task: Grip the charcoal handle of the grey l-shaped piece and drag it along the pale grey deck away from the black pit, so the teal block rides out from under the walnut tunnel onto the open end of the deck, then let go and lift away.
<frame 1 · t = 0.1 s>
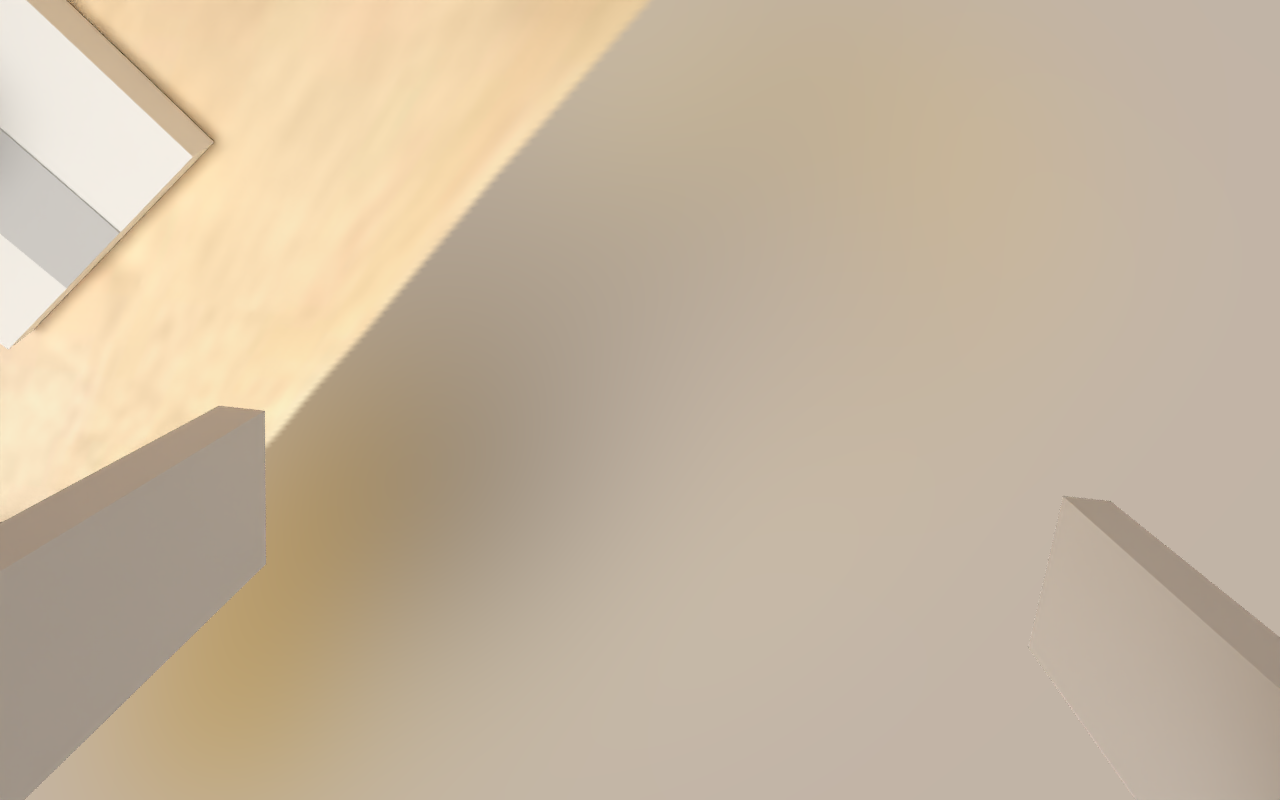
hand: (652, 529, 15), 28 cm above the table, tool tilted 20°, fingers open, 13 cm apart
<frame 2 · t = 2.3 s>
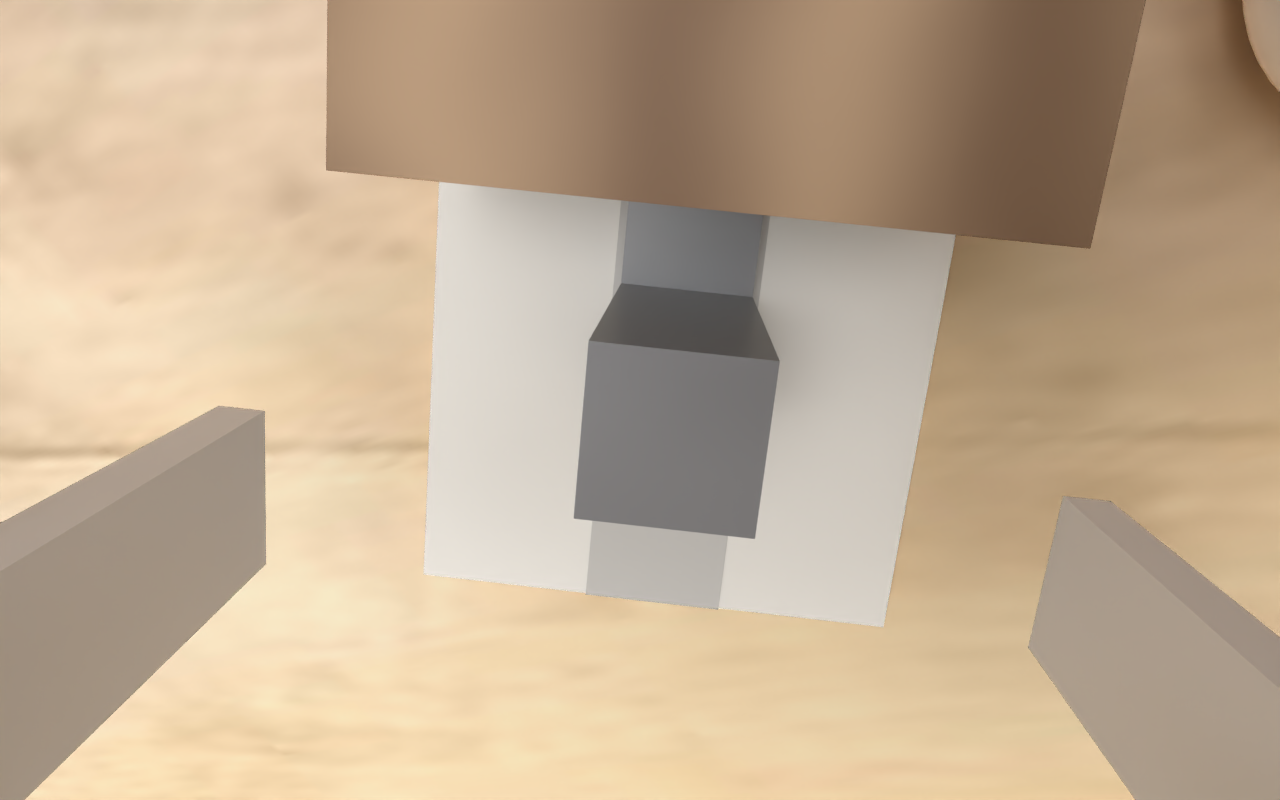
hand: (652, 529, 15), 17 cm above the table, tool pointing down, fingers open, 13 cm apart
deck: (692, 231, 31), on the table
tunnel: (715, 22, 29), resting on deck
grey l-shaped piece: (704, 143, 23), point 7 cm above the table, slide at 0.0 cm, touching block
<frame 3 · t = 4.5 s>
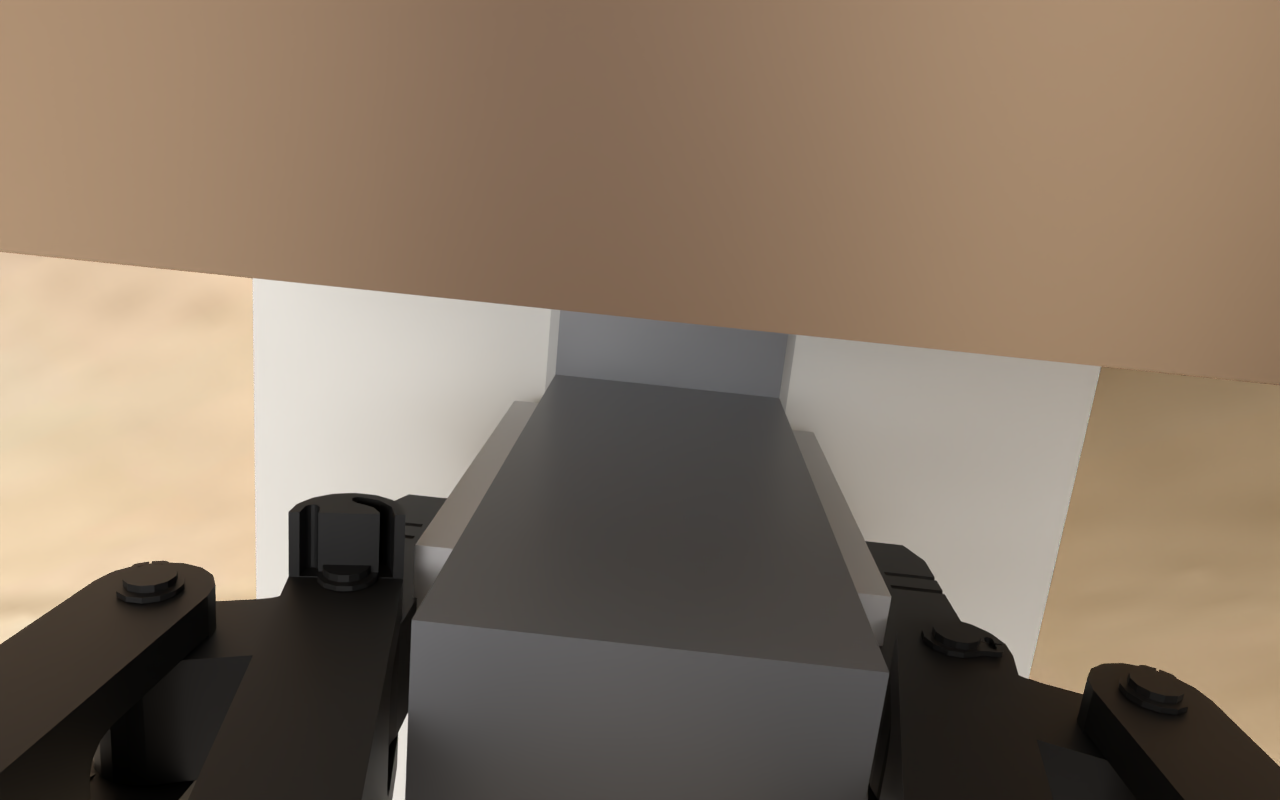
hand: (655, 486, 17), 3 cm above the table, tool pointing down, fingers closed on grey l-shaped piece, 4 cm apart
deck: (677, 279, 19), on the table
grey l-shaped piece: (697, 132, 11), point 7 cm above the table, slide at 0.0 cm, touching block, gripper
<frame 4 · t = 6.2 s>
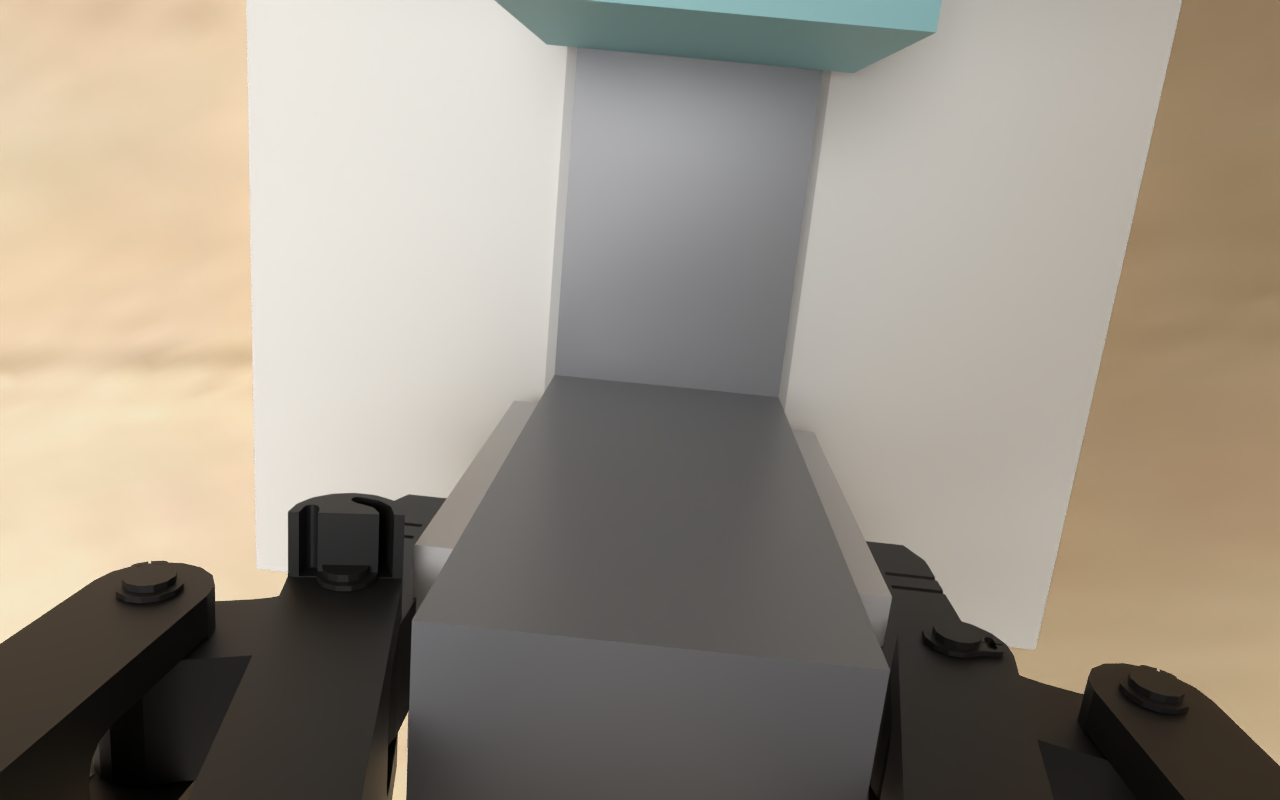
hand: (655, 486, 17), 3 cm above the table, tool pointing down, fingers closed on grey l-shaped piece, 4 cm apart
grey l-shaped piece: (695, 131, 11), point 7 cm above the table, slide at 6.0 cm, touching block, gripper
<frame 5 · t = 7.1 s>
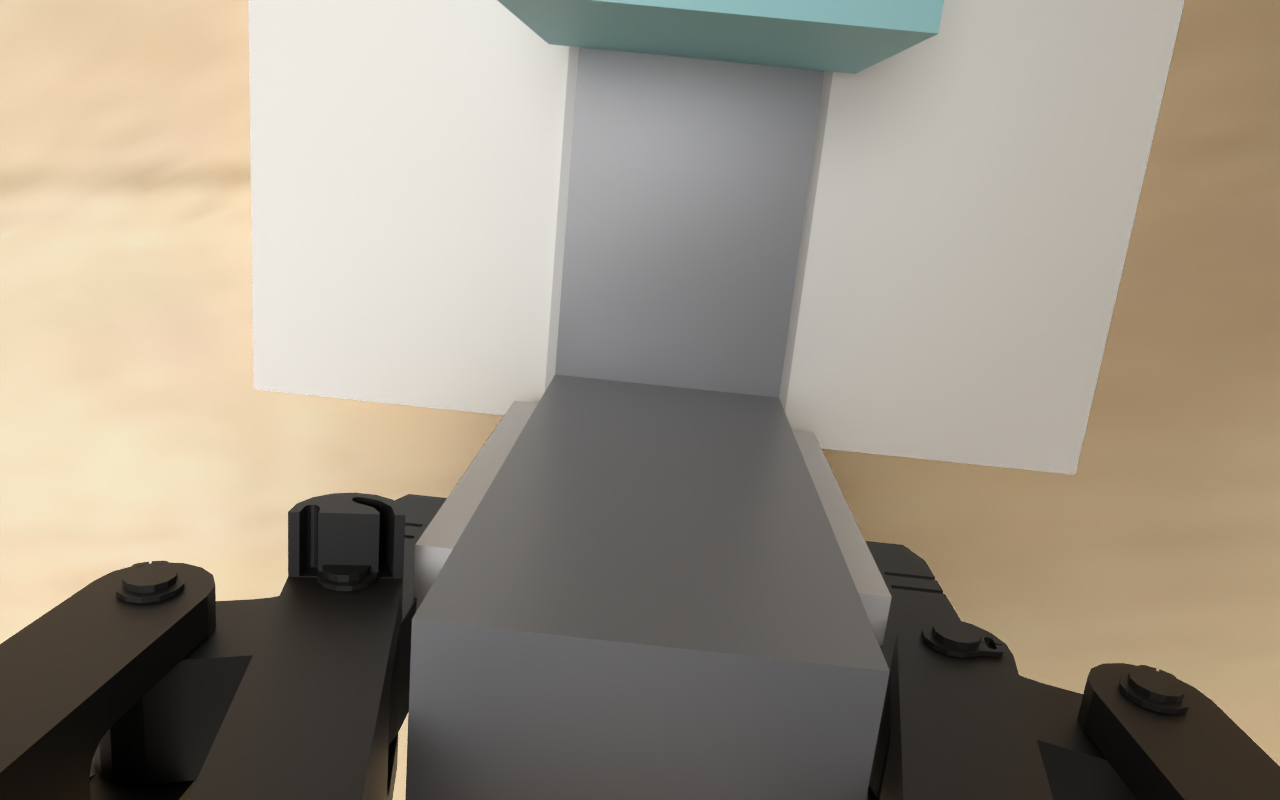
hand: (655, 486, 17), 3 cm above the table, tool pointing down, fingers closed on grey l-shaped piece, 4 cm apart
grey l-shaped piece: (696, 132, 11), point 7 cm above the table, slide at 9.8 cm, touching block, gripper
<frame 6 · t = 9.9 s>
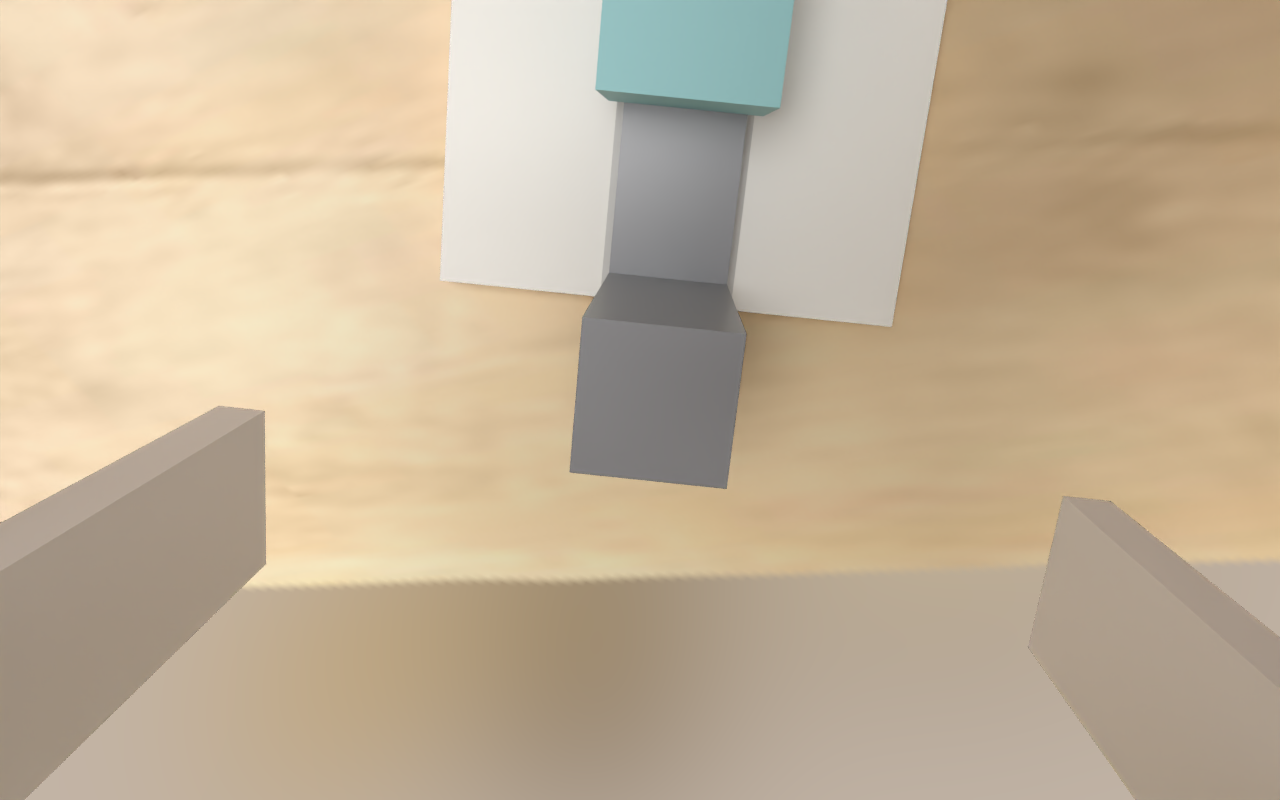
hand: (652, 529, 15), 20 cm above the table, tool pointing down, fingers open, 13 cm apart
grey l-shaped piece: (682, 147, 26), point 7 cm above the table, slide at 10.0 cm, touching block
block: (694, 25, 29), point 3 cm above the table, touching grey l-shaped piece
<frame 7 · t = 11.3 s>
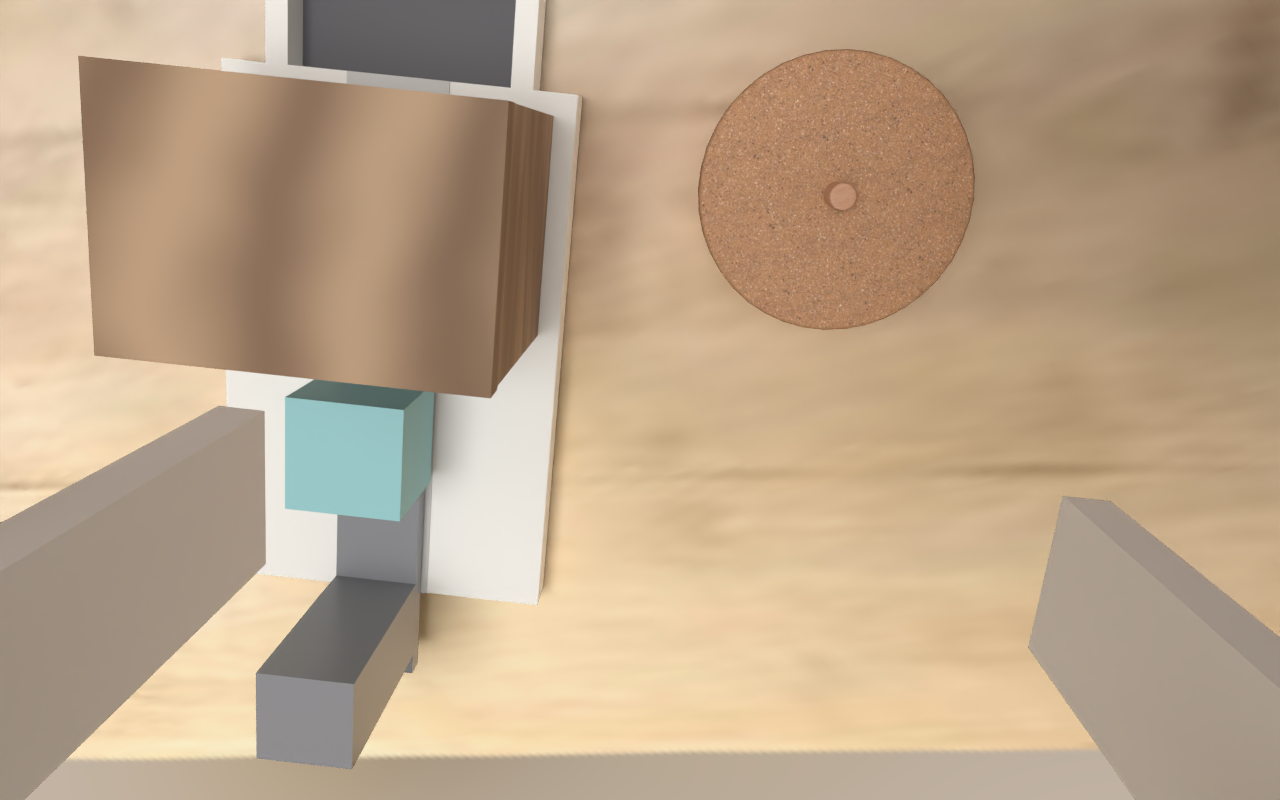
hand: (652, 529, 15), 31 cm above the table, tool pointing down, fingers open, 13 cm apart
deck: (402, 342, 46), on the table
lidded jar: (808, 188, 44), on the table
tunnel: (407, 210, 44), resting on deck
grey l-shaped piece: (349, 532, 41), point 7 cm above the table, slide at 10.0 cm, touching block
block: (380, 426, 44), point 3 cm above the table, touching grey l-shaped piece
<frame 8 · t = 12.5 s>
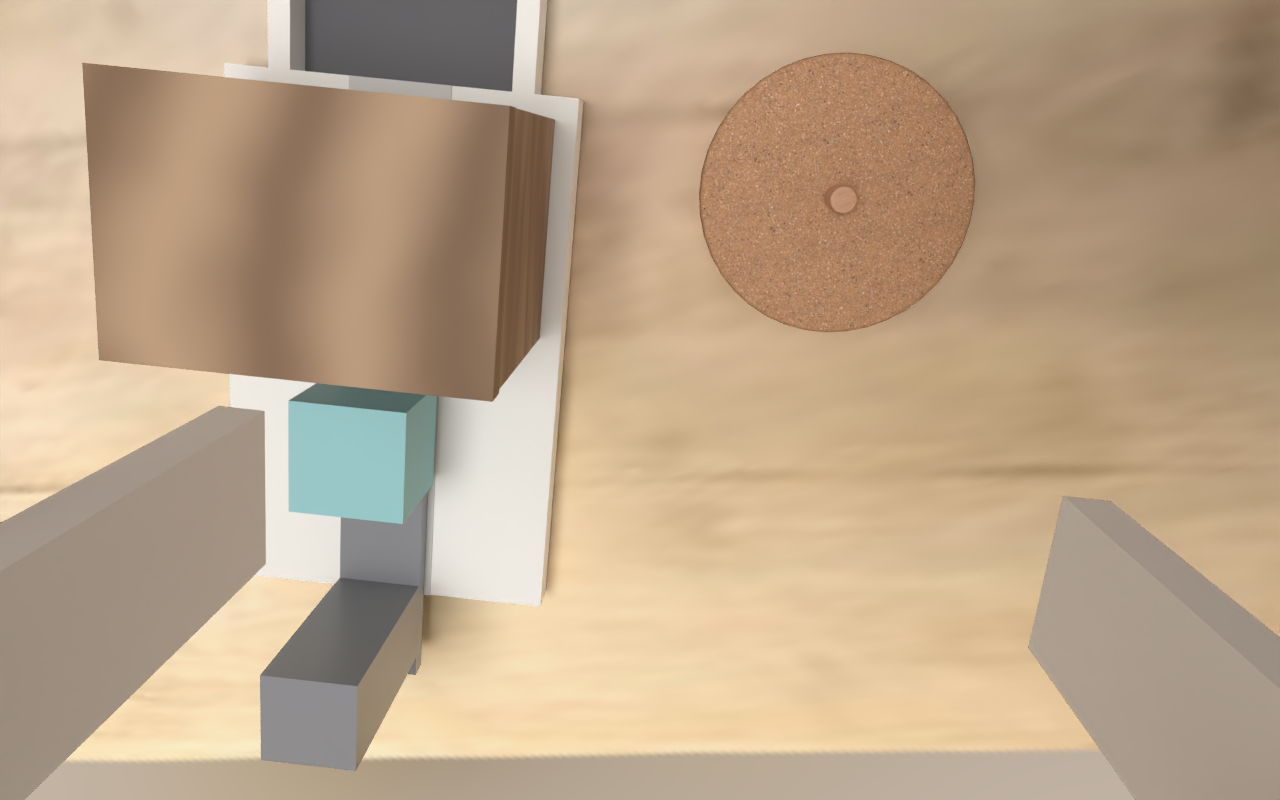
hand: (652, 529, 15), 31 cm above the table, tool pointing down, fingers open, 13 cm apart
deck: (405, 345, 46), on the table
lidded jar: (809, 190, 44), on the table
tunnel: (409, 214, 45), resting on deck
grey l-shaped piece: (353, 535, 41), point 7 cm above the table, slide at 10.0 cm, touching block
block: (383, 429, 44), point 3 cm above the table, touching grey l-shaped piece
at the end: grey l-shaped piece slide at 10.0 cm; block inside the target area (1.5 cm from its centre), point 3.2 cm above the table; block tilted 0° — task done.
